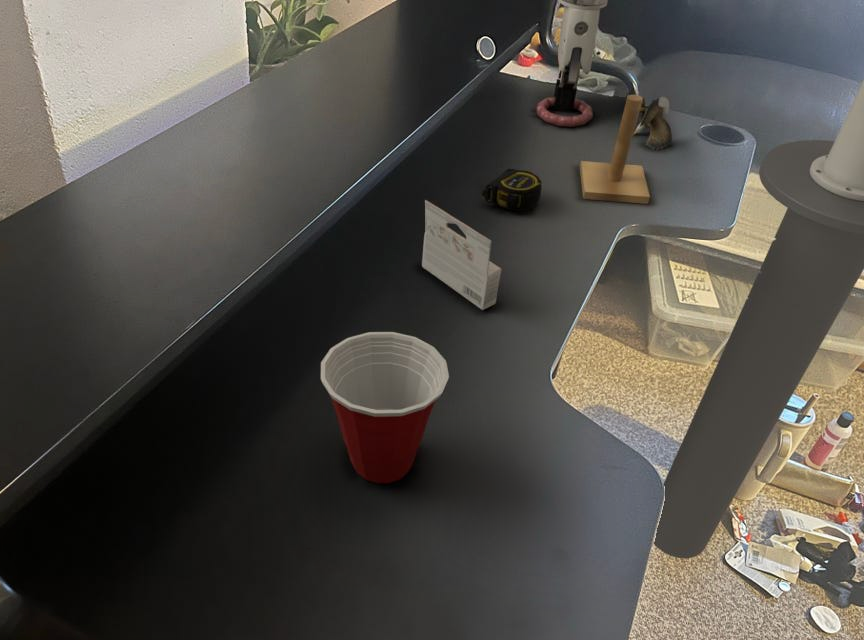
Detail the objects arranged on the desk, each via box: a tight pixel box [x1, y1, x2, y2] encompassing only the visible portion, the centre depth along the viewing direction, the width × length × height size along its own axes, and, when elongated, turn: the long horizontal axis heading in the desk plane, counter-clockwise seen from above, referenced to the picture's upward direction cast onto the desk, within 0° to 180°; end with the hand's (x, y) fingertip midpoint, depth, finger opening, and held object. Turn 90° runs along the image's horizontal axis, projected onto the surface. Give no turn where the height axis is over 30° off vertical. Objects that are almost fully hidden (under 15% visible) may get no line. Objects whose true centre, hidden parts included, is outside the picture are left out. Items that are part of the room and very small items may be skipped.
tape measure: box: [481, 168, 543, 211], centre depth 102 cm, size 7×7×4 cm
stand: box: [579, 94, 651, 205], centre depth 103 cm, size 9×9×13 cm
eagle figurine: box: [633, 96, 673, 151], centre depth 117 cm, size 8×7×9 cm
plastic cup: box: [320, 331, 450, 484], centre depth 66 cm, size 11×11×12 cm
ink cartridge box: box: [421, 199, 502, 311], centre depth 86 cm, size 2×11×10 cm, turn 39°
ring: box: [536, 96, 594, 128], centre depth 123 cm, size 9×9×2 cm
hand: (562, 105), depth 126 cm, fingers closed on ring, 2 cm apart
